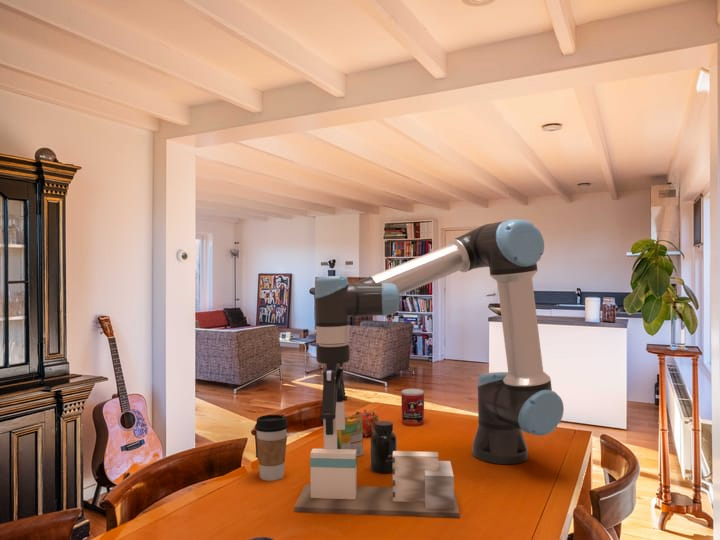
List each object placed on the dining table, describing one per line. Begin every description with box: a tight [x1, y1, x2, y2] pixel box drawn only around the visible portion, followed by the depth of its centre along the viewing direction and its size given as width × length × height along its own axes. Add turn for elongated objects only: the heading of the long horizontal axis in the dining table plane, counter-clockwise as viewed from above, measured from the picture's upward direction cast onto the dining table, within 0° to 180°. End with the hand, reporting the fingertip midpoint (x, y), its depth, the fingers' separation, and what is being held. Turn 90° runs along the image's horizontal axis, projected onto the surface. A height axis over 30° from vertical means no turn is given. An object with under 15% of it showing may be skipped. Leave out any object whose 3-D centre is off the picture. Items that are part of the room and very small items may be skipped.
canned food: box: [400, 388, 425, 427], centre depth 177 cm, size 8×8×11 cm
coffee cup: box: [254, 414, 289, 482], centre depth 130 cm, size 8×8×15 cm
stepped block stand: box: [293, 450, 461, 519], centre depth 115 cm, size 35×12×11 cm, turn 85°
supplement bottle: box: [370, 420, 398, 474], centre depth 135 cm, size 7×7×12 cm
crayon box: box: [337, 414, 364, 457], centre depth 145 cm, size 7×3×12 cm, turn 123°
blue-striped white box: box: [309, 448, 358, 500], centre depth 116 cm, size 10×3×10 cm, turn 85°
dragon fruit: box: [349, 409, 379, 438], centre depth 164 cm, size 8×8×12 cm
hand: (335, 438), depth 116 cm, fingers open, 13 cm apart
